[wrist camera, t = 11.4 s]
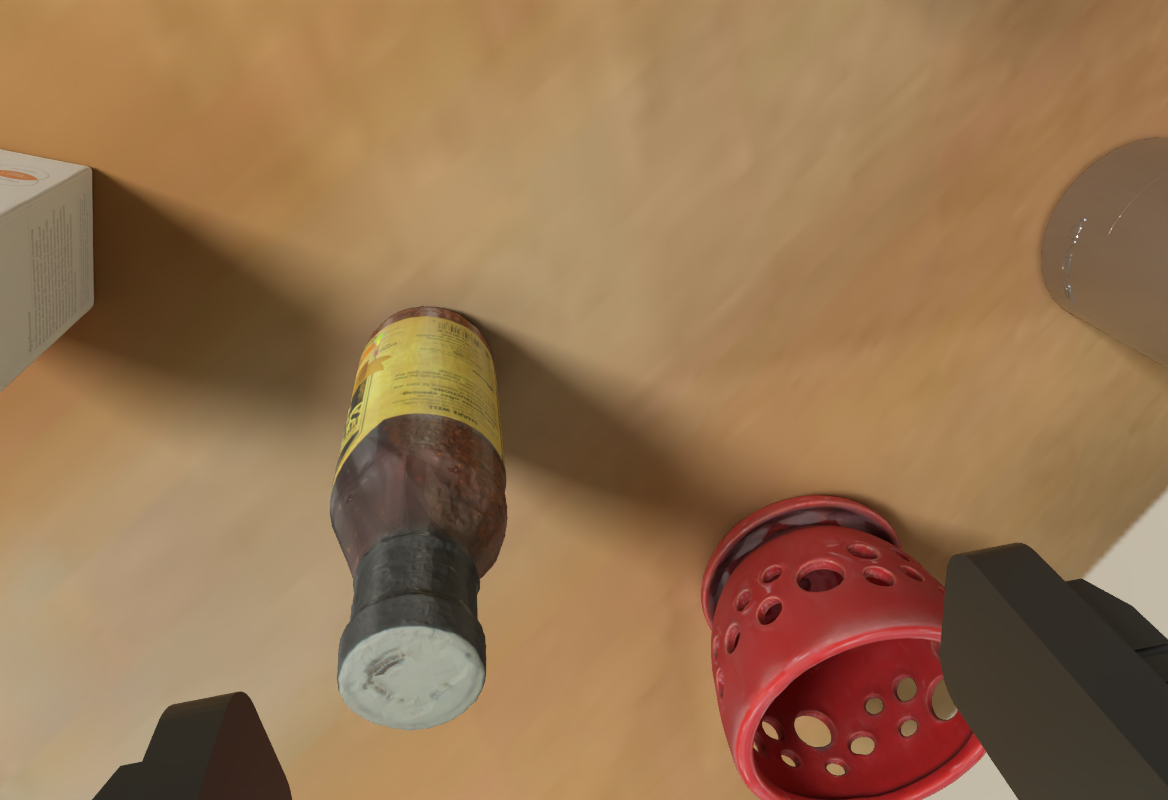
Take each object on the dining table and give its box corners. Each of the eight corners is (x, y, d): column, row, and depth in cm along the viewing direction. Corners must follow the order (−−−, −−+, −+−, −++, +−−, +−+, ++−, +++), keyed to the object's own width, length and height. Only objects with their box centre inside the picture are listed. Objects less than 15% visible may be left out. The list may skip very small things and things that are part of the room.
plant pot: (686, 480, 45) (755, 636, 34) (917, 469, 46) (1051, 614, 36) (669, 663, 51) (723, 844, 40) (874, 647, 52) (979, 818, 42)
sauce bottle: (346, 313, 38) (246, 600, 21) (481, 289, 39) (495, 551, 21) (383, 435, 41) (323, 776, 24) (507, 412, 42) (540, 731, 24)
